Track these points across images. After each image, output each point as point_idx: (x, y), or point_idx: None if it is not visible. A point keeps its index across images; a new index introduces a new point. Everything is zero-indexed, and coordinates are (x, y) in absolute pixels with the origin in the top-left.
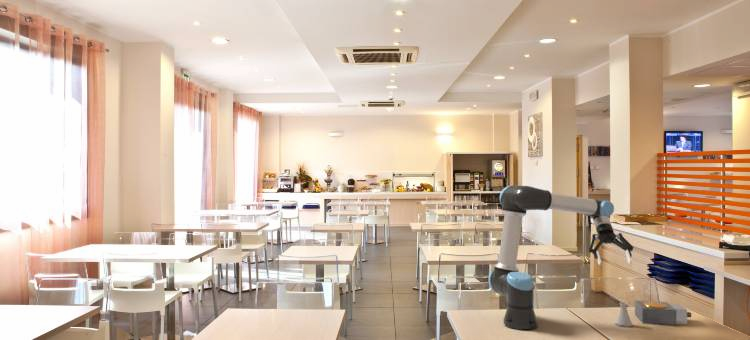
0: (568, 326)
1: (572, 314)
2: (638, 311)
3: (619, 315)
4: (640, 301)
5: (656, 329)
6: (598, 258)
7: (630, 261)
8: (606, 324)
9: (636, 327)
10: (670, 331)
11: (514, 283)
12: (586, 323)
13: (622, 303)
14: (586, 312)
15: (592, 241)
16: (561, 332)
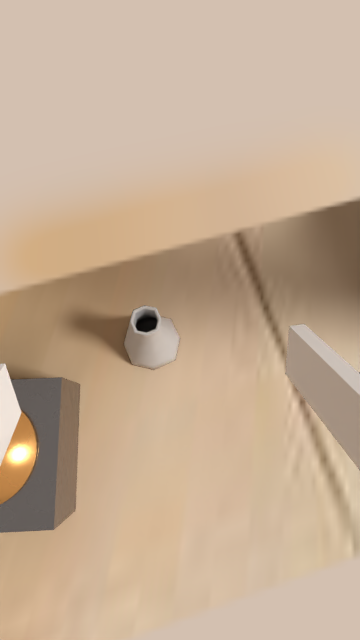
0: (332, 272)
1: (327, 434)
2: (68, 447)
3: (166, 326)
4: (30, 515)
5: (55, 318)
6: (331, 355)
7: (2, 366)
8: (210, 330)
9: (115, 323)
10: (16, 308)
11: None
12: (276, 323)
13: (148, 332)
14: (272, 487)
15: None
16: (348, 209)
